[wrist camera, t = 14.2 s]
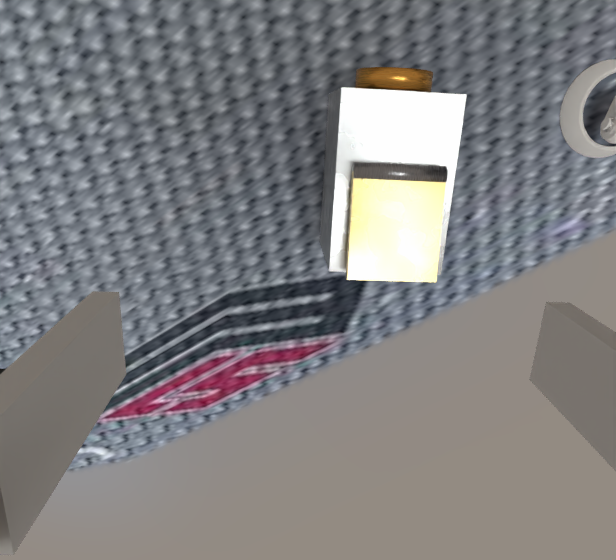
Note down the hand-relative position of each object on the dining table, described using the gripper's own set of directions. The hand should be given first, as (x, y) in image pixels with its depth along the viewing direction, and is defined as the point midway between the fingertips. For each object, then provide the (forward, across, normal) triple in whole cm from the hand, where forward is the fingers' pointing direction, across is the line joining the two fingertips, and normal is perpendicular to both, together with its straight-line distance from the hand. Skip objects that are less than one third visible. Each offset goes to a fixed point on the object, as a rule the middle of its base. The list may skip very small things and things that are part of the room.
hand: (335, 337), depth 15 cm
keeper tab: (+18, -6, 0) cm, 19 cm away
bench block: (+27, -6, -2) cm, 28 cm away
